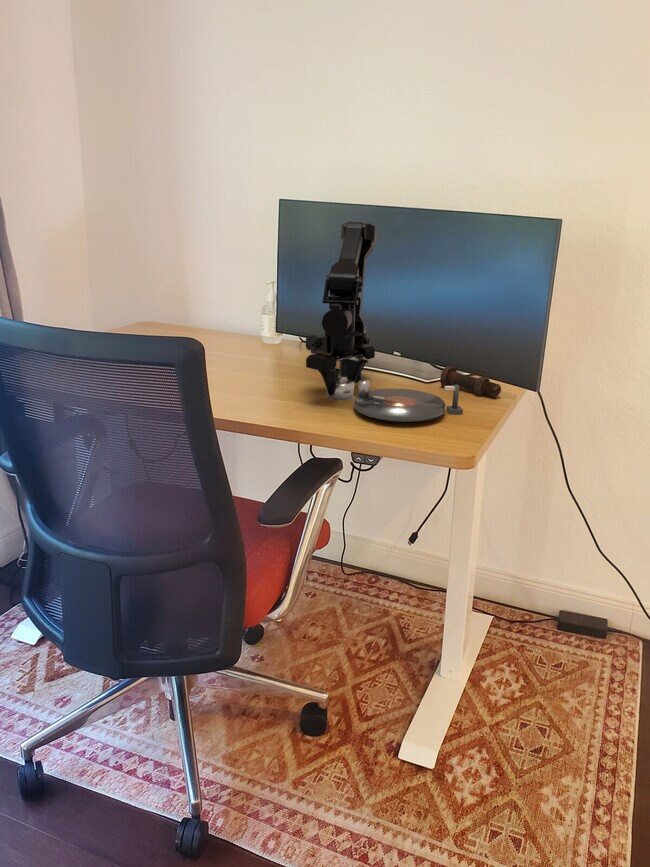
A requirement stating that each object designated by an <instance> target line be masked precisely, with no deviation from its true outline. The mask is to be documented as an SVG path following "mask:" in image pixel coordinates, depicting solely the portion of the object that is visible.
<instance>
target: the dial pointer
mask: <svg viewBox="0 0 650 867" xmlns="http://www.w3.org/2000/svg"><path fill="white" fill-rule="evenodd" d="M443 388H444V391H453V393H452V403H451V404H452V405H446V406H445V411H446V412H447V413H448V415H463V414H464V408H462V407H461V406H460V405H459V394H460V387H459V385H453V386H445V387H443Z"/></svg>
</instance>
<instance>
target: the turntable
mask: <svg viewBox="0 0 650 867" xmlns="http://www.w3.org/2000/svg"><path fill="white" fill-rule="evenodd" d="M353 401H354V403H353V407H354V409H355V410H356V411H357V412H358V413H360V414H362V415H364V416H367V417H369V418H374V419H377V420H382V421H388V422H402V423H410V422H411V423H413V422H414V423H415V422H423V421H431V420H433V419H436V418H439V417H441V416H442V415H444V413H445V411H446V402H445V401H444V400H443V399H442V398H440V397H439V396H437V395H435V394H433V393H429V392H426V391H421V390H417V389H410V388H409V389H408V388H378V389H372V390H370V380H368V379H364V380H359V381H358V394H357V395H356V396H354V400H353Z"/></svg>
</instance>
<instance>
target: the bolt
mask: <svg viewBox="0 0 650 867" xmlns="http://www.w3.org/2000/svg"><path fill="white" fill-rule="evenodd" d="M451 366H452V365H448V366H445V367H444V368H443V369H442V371H441V373H440V381H439V384H440V385H441V387H443V388H444V387H445V386H454V385H459V388H463V389H465V390H469V391H472V392H474V395H475V396H479V397H483V396H484V397H485V396H490V397H492V398H493V397H494V398H496V397H498V396H499V395H500V394H501V392H502V386H501V384H498V383H497V382H496V383H495V382H491V380H490V378H489V377H488V376H484V375H483V376H479V377H478V378H477V377H475V376H471V375H467V374H464V373H461V372H458V371H457V368H456V369H454V367H451Z"/></svg>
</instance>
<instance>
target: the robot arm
mask: <svg viewBox="0 0 650 867" xmlns="http://www.w3.org/2000/svg"><path fill="white" fill-rule="evenodd" d="M340 240H341V241H342V244H341V248H340V253H339V257H338V259H337V262H335V263H334V264H332V265H331V267H330V270H329V272H328V275H326V278H325V281H324V289H323V290H324V291H323V297H322V304H326V305H327V304H329V308H328V310H327V311H326V312H325V313H324V314H323V317H322V320H321V327H322V328H323V330H324V336H321V337H317V335H316V334H313V335H308V336H306V337H305V347H306V350H307V351H311V354H309V355H308V356H307V357H306V358H305V368H307V369H310V370H311V369H312V370H315V371H318V372H319V373H320V374H321V377H322V379H323V382H324V384H325V388H326V392H327V391H328V394H329V395H331V396H332V395H333V394H334V391H335V388H336V384H337V380H338V376H339V374H344V375H347V376H348V379H350V380H353V381H354V384H355V383H356V382H359V380H365V378H364V377H365V376H364V375H363V374H362V373H363V372H362V371H363V370H364V367H365V366H366V364H367V363H369V360H371V359H374V358H375V356H376V354H375V353H376V350H375V348H374V347H373V345H371V339H370V338H369V334H368V333H367V328H366V327H367V326H366V325H365V323H364V322H363V319H362V310H363V300H364V299H363V298H364V288H365V276H366V264H367V260H368V259H369V257H370V256H371V254H372V253H373V252H374V248H375V247H374V246H375V243H377V241H378V227H376V225H373V222H364V221H347V222H344V223H343V224H341V229H340ZM316 352H317V353H316ZM321 352H322V353H321ZM337 363H338V364H339V366H338V367H339V368H337Z"/></svg>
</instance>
